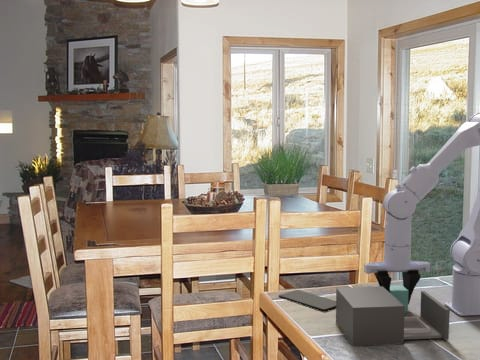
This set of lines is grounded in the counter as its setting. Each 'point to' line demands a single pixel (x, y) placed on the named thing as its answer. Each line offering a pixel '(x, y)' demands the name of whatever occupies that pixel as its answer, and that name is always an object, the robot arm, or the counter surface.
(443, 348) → the counter surface
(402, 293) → the block
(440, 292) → the counter surface
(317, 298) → the smartphone
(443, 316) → the tray
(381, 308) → the dark grey cuboid box
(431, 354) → the counter surface
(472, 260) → the robot arm
